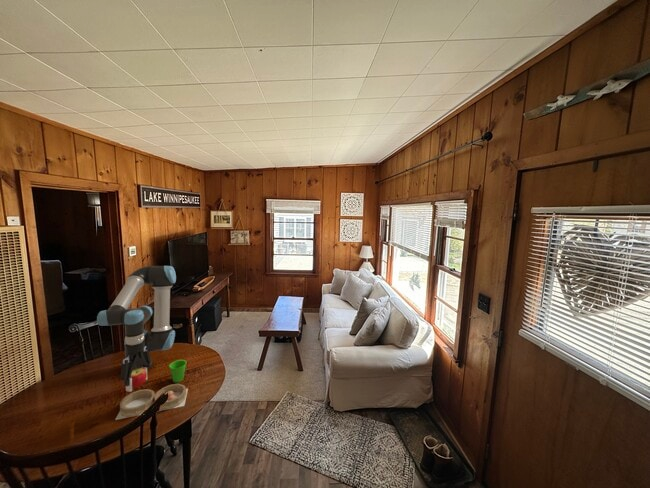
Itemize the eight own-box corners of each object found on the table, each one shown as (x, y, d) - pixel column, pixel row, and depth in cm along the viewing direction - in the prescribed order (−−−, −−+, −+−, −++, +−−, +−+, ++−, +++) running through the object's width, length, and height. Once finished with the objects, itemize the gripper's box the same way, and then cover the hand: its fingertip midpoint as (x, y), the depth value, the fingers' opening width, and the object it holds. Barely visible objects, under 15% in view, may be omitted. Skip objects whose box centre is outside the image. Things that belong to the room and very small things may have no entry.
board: (115, 422, 122) (115, 419, 121) (125, 401, 135) (125, 399, 134) (184, 408, 132) (184, 405, 132) (188, 390, 145) (188, 388, 145)
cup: (179, 387, 147) (178, 369, 146) (165, 385, 149) (165, 367, 147) (190, 378, 156) (190, 361, 154) (177, 375, 157) (177, 358, 156)
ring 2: (152, 398, 136) (152, 391, 136) (181, 387, 146) (181, 380, 145) (157, 414, 126) (157, 406, 125) (189, 400, 135) (188, 393, 135)
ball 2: (167, 401, 134) (166, 395, 134) (174, 398, 137) (174, 392, 136) (168, 405, 132) (168, 399, 131) (176, 402, 134) (176, 396, 134)
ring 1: (119, 404, 131) (118, 397, 130) (151, 392, 140) (151, 385, 140) (122, 421, 121) (121, 413, 120) (157, 407, 130) (156, 399, 130)
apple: (145, 377, 135) (144, 359, 134) (148, 385, 129) (147, 367, 128) (125, 384, 129) (124, 366, 128) (128, 393, 123) (127, 373, 122)
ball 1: (165, 397, 137) (165, 391, 137) (172, 394, 140) (172, 388, 139) (166, 400, 135) (166, 394, 134) (174, 397, 137) (174, 391, 137)
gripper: (122, 353, 116) (124, 400, 118) (158, 333, 137) (159, 373, 139) (107, 352, 117) (110, 398, 119) (145, 331, 138) (147, 371, 140)
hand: (137, 384), depth 129 cm, fingers closed on apple, 8 cm apart
